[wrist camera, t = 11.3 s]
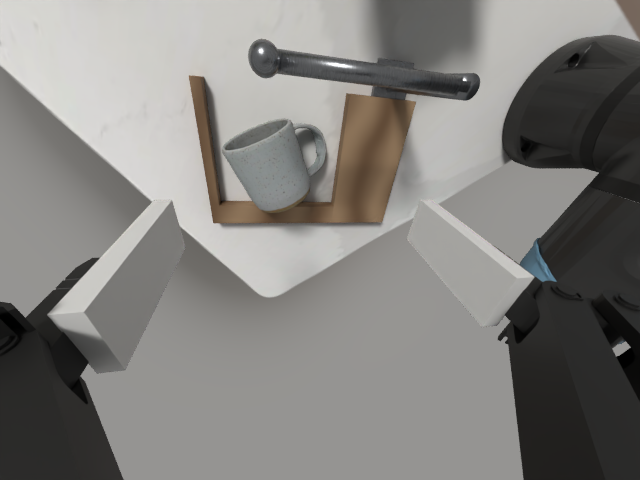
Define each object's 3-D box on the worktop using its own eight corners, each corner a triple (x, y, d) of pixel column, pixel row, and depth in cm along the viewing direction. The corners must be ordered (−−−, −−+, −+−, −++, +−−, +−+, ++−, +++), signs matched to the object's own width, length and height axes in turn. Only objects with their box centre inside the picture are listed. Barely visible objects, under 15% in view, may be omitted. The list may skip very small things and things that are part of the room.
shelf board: (409, 100, 29) (416, 101, 27) (378, 217, 37) (382, 222, 36) (192, 75, 24) (188, 75, 22) (215, 217, 32) (213, 223, 31)
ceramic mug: (259, 198, 32) (258, 227, 26) (225, 138, 27) (214, 156, 21) (331, 168, 32) (349, 189, 26) (310, 101, 27) (325, 108, 21)
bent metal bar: (411, 63, 26) (518, 54, 15) (400, 104, 29) (488, 123, 17) (254, 39, 23) (244, 5, 12) (256, 88, 25) (249, 98, 14)
